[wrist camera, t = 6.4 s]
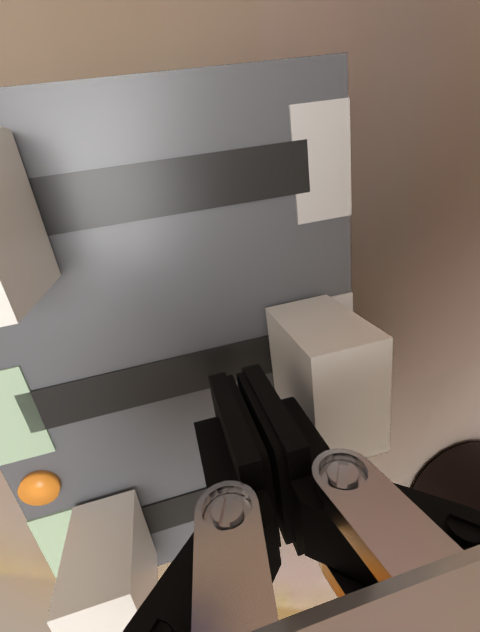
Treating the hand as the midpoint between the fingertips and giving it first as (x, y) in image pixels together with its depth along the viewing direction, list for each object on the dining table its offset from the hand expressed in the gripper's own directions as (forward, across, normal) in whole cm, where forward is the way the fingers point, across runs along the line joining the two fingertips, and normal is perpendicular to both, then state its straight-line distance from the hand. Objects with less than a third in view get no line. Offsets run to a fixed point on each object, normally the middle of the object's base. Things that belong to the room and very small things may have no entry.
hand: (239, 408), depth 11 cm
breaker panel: (+4, +2, 0) cm, 5 cm away
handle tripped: (+2, -3, 0) cm, 4 cm away
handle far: (+2, +6, +6) cm, 9 cm away
